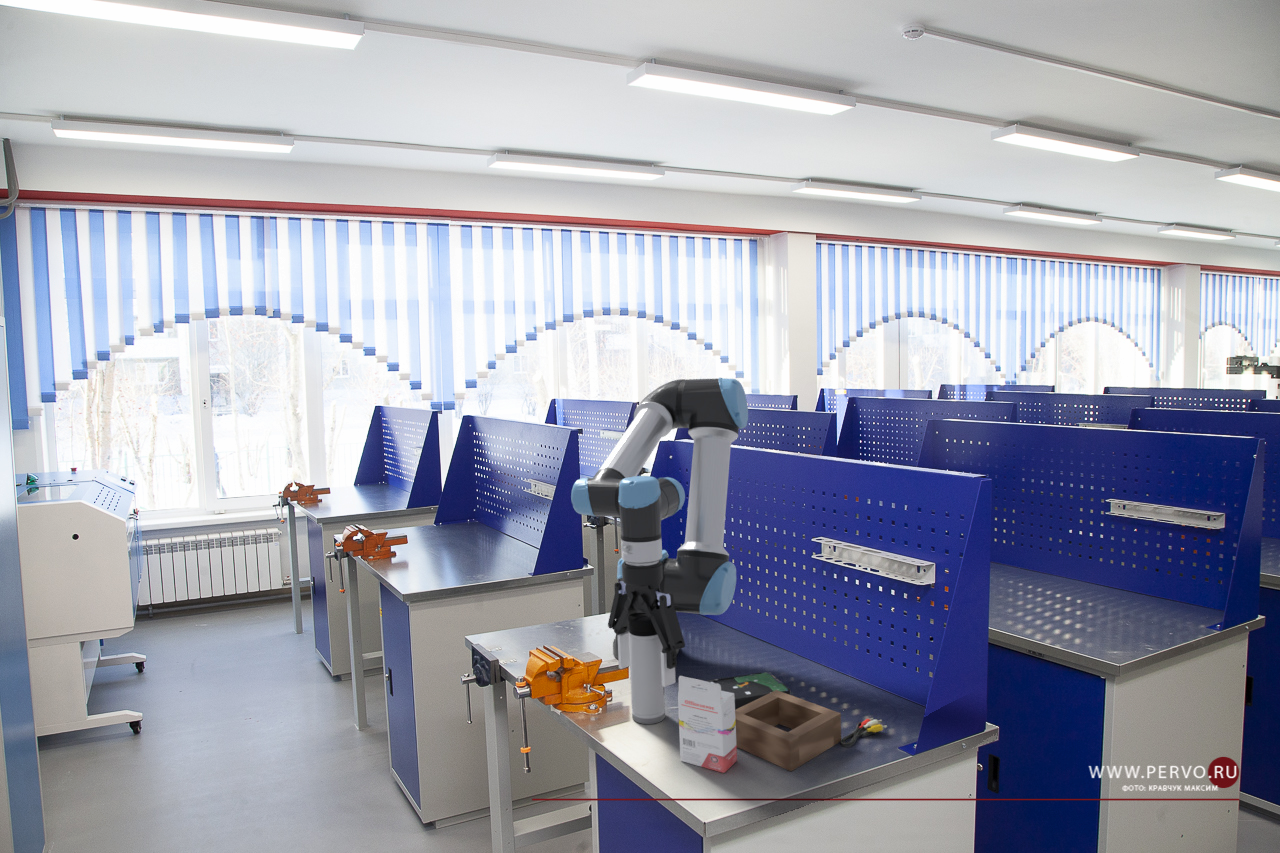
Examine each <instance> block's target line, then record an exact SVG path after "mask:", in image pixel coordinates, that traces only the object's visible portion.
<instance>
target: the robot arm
mask: <svg viewBox="0 0 1280 853" xmlns="http://www.w3.org/2000/svg"><path fill="white" fill-rule="evenodd" d="M748 422H749V406H748V400H747V395H746V393H745V389H744V386H743V384H742V383H741V382H740V381H739V380H738V379H735V378H723V377H718V378H696V379H695V378H693V379H690V378H689V379H683V378H680V379H674V380H671V381H669V382H666V383H664V384H662V385H660V386H658V387H657V388H656V389H654V390H653V391H652V392H651V391H650V393H649V394H648V395H646V396H645V397H644V398H643V399H642V400H641V401H640V402H639V404H638V405H637V406H636V408H635V410H634V412H633V420H632V421H631V423H629V425H628V427H627V428H626V430H625V431H624V433H623V434H622V436H621V437H620V438H619V440H618V441H617V443H616V444H615V446H614V447H613V449H612V450H611V452H610V453H609V454H608V455H607V457H606V459H605V460H604V462H603V463H602V464H601V465H600V467H599V469H598V470H597V471H596V473H595V474H594V475H593V477H592V478H591V477H584V478H582V477H580V478H579V479H577V480H576V481H575V482H574V483H573V485H572V489H571V493H570V494H571V495H570V498H571V504H572V507H573V509H574V511H575V512H576V513H577V514H579V515H585V516H592V517H616V518H617V517H618V518H619V521H620V522H619V524H620V525H619V526H620V542H621V543H620V546H621V558H619V559H618V561H617V567H616V568H617V574H616V579H617V580H616V581H617V582H615V583H614V595H613V601H612V605H611V607H610V608H611V610H610V614H609V618H608V622H607V627H608V629H612V630H614V631H613V632H614V634H615V637H614V639H613V641H612V654H613V656H614V657H615V658H616V659H617V660H618V669H620V670H623V669H625V668H628V667H630V650H629V621H628V616H629V615H630V614H632V613H646V616H647V617H648V618H650V619H651V621H652V624H653V626H654V628H655V630H656V633H657V635H658V637H659V639H660V642H661V644H662V646H663V650H662V651H661V674H662V686H664V688H666V687H669V686H670V685H673V684H675V683H676V682H677V681H676V668H677V664H678V663H677V662H678V661H677V655H678V654H679V651H680V649H683V648H685V647H686V643H685V640H684V636H683V633H682V630H681V629H682V628H681V626H680V623H679V619H678V614H677V613H684V614H696V615H701V616H706V615H709V616H720V615H722V614H724V613H725V612H726V611H727V610H728V609H729V607H730V605H731V603H732V601H733V598H734V595H735V590H736V587H737V585H736V584H737V568H736V566H735V564H734V563H733V562H731V561H729V560H730V553H729V552H728V551H727V550H726V549H725V548H724V536H725V524H726V523H725V522H726V511H727V497H728V486H729V474H730V461H731V460H730V459H731V447H732V446H731V445H732V443H733V442H735V441H736V440H737V439H738V438H739V430H742V429H744V428H746V427H747V425H748ZM675 429H688V430H687V431H688V432H687V433H688V435H689V436H690V437H691V439H692V440H693V447H692V448H693V449H692V457H691V458H692V461H691V470H690V483H689V490H688V491H689V494H688V504H687V516H686V517H687V518H686V525H685V526H686V527H685V536H684V537H685V538H684V543H683V544H682V545H681V546H680V547H679V548H678V549H677V552H676V558H671V557H670V558H669V554H668V551H667V550H666V549H663V546H662V545H663V544H662V542H663V541H662V521H663V520H665V519H667V518H669V517H673V515H675V514H677V512H679V510H681V509H682V508H683V506H684V503H685V500H686V493H685V490H684V487H683V485H682V484H681V483H680V482H679V480H676V479H675V478H673V477H669V476H666V477H658V478H656V477H654V476H648V475H639V474H640V472H641V471H642V469H643V467H644V465H645V464H646V463H647V461H648V459H649V457H650V456H651V455H652V453H653V451H654V450H655V448H656V446H657V445H658V443H659V441H660V440H661V439H662V438H663V437H666V436H667V435H668V434H670V432H671V431H672V430H675Z"/></svg>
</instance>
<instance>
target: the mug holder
mask: <svg viewBox="0 0 1280 853" xmlns="http://www.w3.org/2000/svg"><path fill="white" fill-rule="evenodd" d="M735 721H736V746H737V748H738V749H741V750H742V751H745V752H747V753H750V754H751V755H753V756H756V757H758V758H760V759H763V760H765V761H768V762H769V763H772V764H774V765H776V766H779V767H780V768H782V769H785V770H787V771H789V772H793V771H794V770H796V769H797V768H799V767H801V766H802V765H804V764H807V763H808V762H809V761H811V760H813V759H814V758H816V757H818V756H820V755H821V754H822V753H824V752H826V751H828V750H829V749H831V748H832V747H834V746H836V745H838V744H839V743H841V742H840V740H841V739H842V713H841V712H838V711H835V710H833V709H830V708H827V707H824V706H821V705H819V704H817V703H813V702H810V701H808V700H804V699H802V698H800V697H797V696H794V695H792V694H791V695H789V694H786V693H783V692H781V691H778V690H775V691H773V692H771V693H769V694H767V695H765V696H763V697H761V698H759V699H757V700H755V701H753V702H750V703H748V704H746V705H744V706H742V707H740V708H738V709H736V710H735ZM778 725H781V726H784V727H786V728H788V729H791V730H789V731H786V730H783V729H782V728H781V729H780V728H779V727H777V726H778Z"/></svg>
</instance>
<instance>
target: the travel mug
mask: <svg viewBox="0 0 1280 853" xmlns="http://www.w3.org/2000/svg"><path fill="white" fill-rule="evenodd" d="M628 621H629V650H630V666H629V667H630V668H629V669H630V670H629V671H630V672H629V673H630V674H629V675H630V694H631V695H630V696H631V718H632V720H633V721H635V722H636V723H638V724H642V725H653V724H657V723H660V722H661V721H663V720H664V719H665V718H666V698H665V687H664V686H662V674H661V651H662V650H663V646H662V644H661V642H660V639H659V637H658V635H657V633H656V630H655V628H654V626H653V624H652V621H651V619H650V618H648V617H647V616H646V613H632V614H630V615H629V616H628Z"/></svg>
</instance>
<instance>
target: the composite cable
mask: <svg viewBox="0 0 1280 853" xmlns="http://www.w3.org/2000/svg"><path fill="white" fill-rule="evenodd" d="M882 722H883V720H882V719H879V720H878V719H876V718H875V719H874V717H871V718H869V717H868V718H866V719H865V720H863V721H859V722H858V723H857V724H856V726H855V727H856V728H855V729H854V731H853V732H851V733H848V734H847V735H846V736H844V737H841V740H840V742H839V743H840V745H841V746H842V747H844V748H850V747H852V746H854V745H855V744H856V741H857V739H858V738H864V737H869V736H871V735H874V734H876V733H879V732H882V731H884V729H887V728H888V725H883V724H880V723H882Z"/></svg>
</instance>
